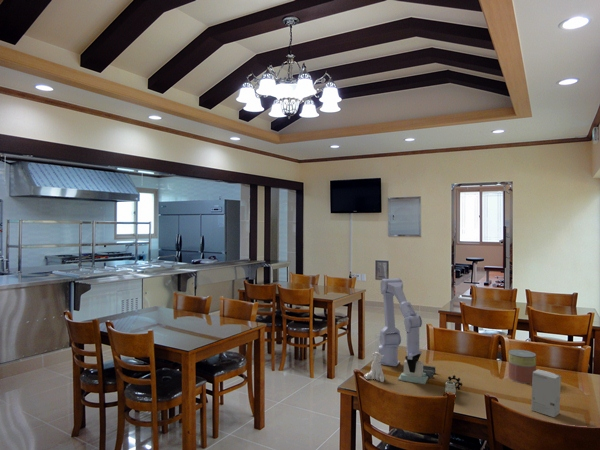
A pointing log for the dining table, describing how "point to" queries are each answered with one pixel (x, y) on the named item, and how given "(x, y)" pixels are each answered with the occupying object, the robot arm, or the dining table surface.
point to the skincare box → (546, 393)
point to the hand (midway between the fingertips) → (413, 370)
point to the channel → (429, 370)
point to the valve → (452, 385)
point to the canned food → (521, 365)
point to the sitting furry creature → (376, 368)
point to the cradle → (414, 378)
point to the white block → (418, 369)
